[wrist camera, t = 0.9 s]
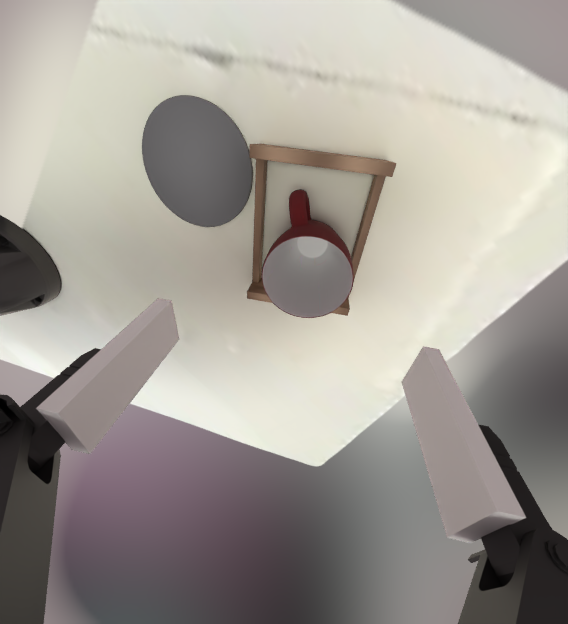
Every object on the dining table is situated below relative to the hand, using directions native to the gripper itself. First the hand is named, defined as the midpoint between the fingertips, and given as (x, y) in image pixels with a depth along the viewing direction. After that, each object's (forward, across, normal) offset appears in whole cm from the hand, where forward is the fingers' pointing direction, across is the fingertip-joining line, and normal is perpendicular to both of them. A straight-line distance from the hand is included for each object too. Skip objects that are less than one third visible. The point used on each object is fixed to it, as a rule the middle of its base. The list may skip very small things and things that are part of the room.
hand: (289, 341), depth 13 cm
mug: (+19, 0, 0) cm, 19 cm away
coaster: (+19, -13, +5) cm, 24 cm away
